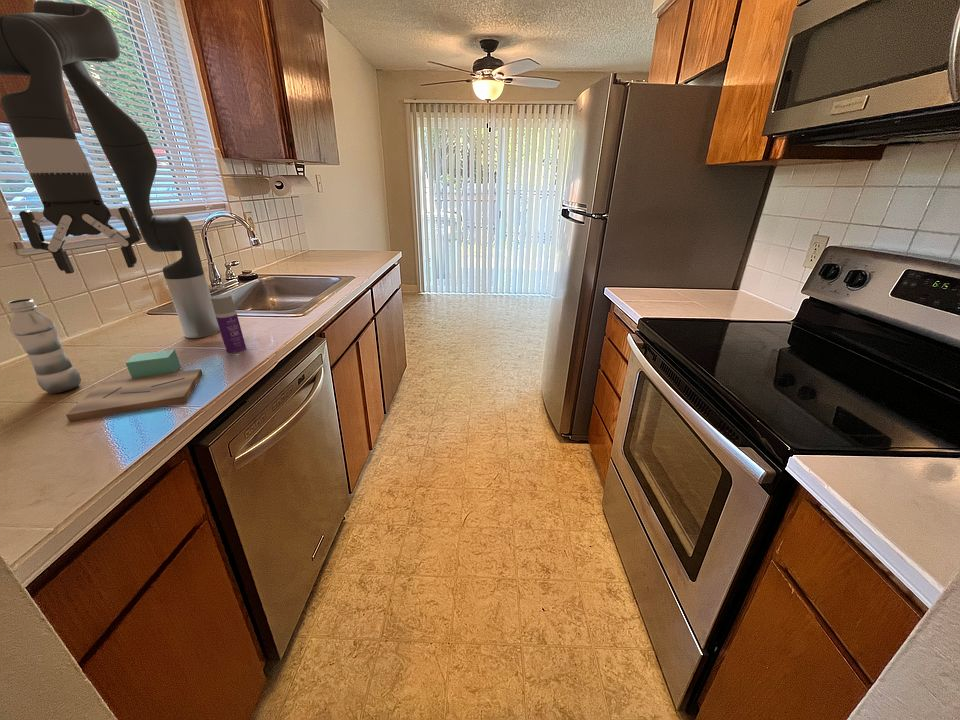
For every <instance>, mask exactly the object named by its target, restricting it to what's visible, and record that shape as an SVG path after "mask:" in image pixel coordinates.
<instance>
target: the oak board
mask: <svg viewBox="0 0 960 720" xmlns="http://www.w3.org/2000/svg"><path fill="white" fill-rule="evenodd" d="M202 374H203V370H202V368H198V369H190V370H185V371H184V370H183V371H179V372H174V373H167V374H160V375H153V376H146V377H139V378H132V377H131V378H127V379H119V380H112V381H111V380H110V381H105V382H100V383H99V384H97V386H96V387H94V388H93V389H92V390H91V391H90V392H89V393H87V395H85V397H84V398H82V399H81V400H80V401H79V402H78V403H77V404H76V405H75V406H74V407H72V408H71V410H69V411H68V412H67V413H66V414H65V416H66V419H67V421H68V422H69V421H70V422H75V421H76V422H77V421H80V420H82V421H83V420H87V419H94V417H95V418H101V417H105V416H113V415H118V414H125V413H132V412H139V411H143V410H148V409H149V410H150V409H155V408H160V407H161V408H162V407H168V406H174V405H179V404H180V403H181V404H185V403H187V402H188V400H189V399H190V397H191V395H192V394H193V392H194V391H195V389H196V387H197V385H198V384H199V382H200V380H201V379H202V377H203V375H204V374H203V375H202ZM201 376H202V377H201ZM200 378H201V379H200ZM199 379H200V380H199ZM198 381H199V382H198ZM197 383H198V384H197ZM196 384H197V385H196ZM195 386H196V387H195ZM194 388H195V389H194ZM192 391H193V392H192ZM191 393H192V394H191ZM188 398H189V399H188ZM100 416H101V417H100Z"/></svg>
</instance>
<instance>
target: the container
mask: <svg viewBox="0 0 960 720" xmlns="http://www.w3.org/2000/svg"><path fill="white" fill-rule="evenodd" d="M211 301H212V305H213V309H214V312H215V316H216V319H217V323H218V326H219V329H220V335H221V339H222V341H223V346H224V348H225V352H226V354H227V355H229V356H233V355H240V354H242V353H245V352H246V351H247V346H246V343H245V342H246V341H245V338H244V335H243V332H242V327H241V325H240V324H241V323H240V321H239V317H238V313H237V310H236V306H235V303H234V300H233V297H232V294H229V293H222V294H217V295H213V296H212V295H211Z"/></svg>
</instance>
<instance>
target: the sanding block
mask: <svg viewBox="0 0 960 720" xmlns="http://www.w3.org/2000/svg"><path fill="white" fill-rule="evenodd" d="M125 365H126V368H127V370H128V373H129V375H130V377H131V379H132V378H139V377H146V376H153V375H160V374H167V373H174V372H178V371H179V372H180V370H181V369H182V366H181V362H180V359H179V357H178V354H177V352H176V349H169V350H161V351H152V352H145V353H143V352H142V353H137V354H135V353H134V354H133V355H132V356H131V357H130V358H129V359H128V360H127V361H126V362H125ZM180 368H181V369H180Z"/></svg>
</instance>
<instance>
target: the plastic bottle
mask: <svg viewBox="0 0 960 720" xmlns="http://www.w3.org/2000/svg"><path fill="white" fill-rule="evenodd" d="M7 306H8V308H9V311H10V313H13V316H12V318H11V321H10V323H9V331H10V332H11V334H12V335H13V337H14V338H15V339H16V341H18V343H19V344H20V346H21V347H22V348H23V350H24V352H25V354H27V357H28V358H29V359H30V362H31V363H30V364H31V365H32V367H33V368H32V369H33V370H34V373H35V379H36V381H37V383H38V386H39V387H40V388H41V389H42V391H45V392H47V393H48V394H56V393H62V392H66V391H69V390H72V389H74V388H77V387H78V386H80V384H81V381H82V379H81V375H80V372H79V371H78V370H77V368H76V367H75V366H74V365H73V364H72V362H71V360H70V359H69V358H68V356H67V354H66V352H65V350H64V348H63V346H62V343H61V340H60V338H59V333H58V329H57V326H56V323H55V321H54V320H53V319H52V318H51V317H50V316H47V315H46V314H44V313H42V312H41V311H39V310H37V309H38V305H37V304H36V302H35V300H34V299H33V298H21V299H14V300H11V301H8V302H7Z"/></svg>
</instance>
